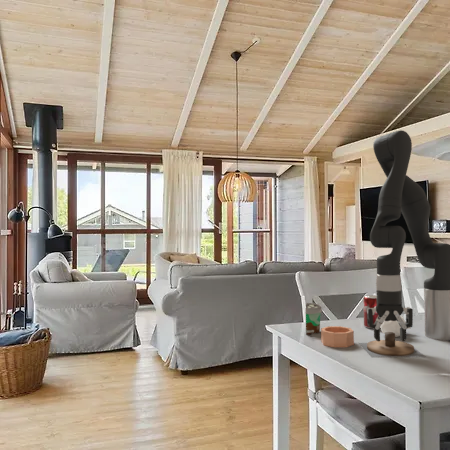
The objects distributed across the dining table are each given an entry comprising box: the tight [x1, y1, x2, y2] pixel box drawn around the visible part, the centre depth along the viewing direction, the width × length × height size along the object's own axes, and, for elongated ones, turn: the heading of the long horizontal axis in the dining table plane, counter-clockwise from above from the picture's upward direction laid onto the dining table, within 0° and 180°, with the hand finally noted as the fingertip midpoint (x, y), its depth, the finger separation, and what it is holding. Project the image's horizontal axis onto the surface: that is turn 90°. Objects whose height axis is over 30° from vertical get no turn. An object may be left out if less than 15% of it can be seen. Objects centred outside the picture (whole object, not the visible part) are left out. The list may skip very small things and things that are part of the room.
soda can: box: [362, 294, 381, 330], centre depth 171 cm, size 7×7×12 cm
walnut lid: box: [366, 332, 415, 356], centre depth 138 cm, size 14×14×5 cm
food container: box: [305, 302, 323, 336], centre depth 165 cm, size 12×6×10 cm, turn 168°
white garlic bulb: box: [380, 314, 412, 338], centre depth 156 cm, size 9×9×12 cm
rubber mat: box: [358, 342, 427, 358], centre depth 138 cm, size 16×16×1 cm
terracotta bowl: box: [320, 325, 355, 348], centre depth 147 cm, size 10×10×5 cm
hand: (390, 340), depth 138 cm, fingers open, 7 cm apart
